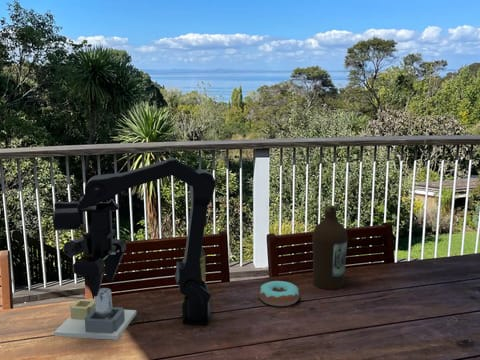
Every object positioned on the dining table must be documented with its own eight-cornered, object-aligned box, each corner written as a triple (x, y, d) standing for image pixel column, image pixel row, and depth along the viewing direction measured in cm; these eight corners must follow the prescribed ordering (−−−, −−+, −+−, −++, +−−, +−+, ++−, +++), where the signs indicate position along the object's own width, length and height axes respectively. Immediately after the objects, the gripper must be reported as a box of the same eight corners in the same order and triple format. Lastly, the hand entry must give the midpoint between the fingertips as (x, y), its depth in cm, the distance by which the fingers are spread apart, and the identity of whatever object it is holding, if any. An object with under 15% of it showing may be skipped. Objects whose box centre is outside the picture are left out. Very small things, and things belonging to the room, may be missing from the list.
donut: (253, 294, 140) (253, 281, 140) (290, 289, 144) (290, 277, 143) (266, 311, 129) (266, 297, 128) (306, 305, 132) (306, 292, 132)
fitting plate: (136, 313, 127) (135, 299, 126) (117, 339, 113) (116, 324, 112) (80, 310, 129) (79, 296, 128) (54, 336, 115) (53, 320, 114)
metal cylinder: (116, 321, 120) (113, 288, 119) (110, 328, 116) (107, 294, 115) (100, 320, 121) (98, 287, 119) (94, 328, 117) (91, 294, 115)
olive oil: (304, 283, 147) (306, 206, 143) (324, 275, 155) (326, 201, 150) (332, 293, 140) (335, 212, 136) (352, 284, 147) (355, 206, 143)
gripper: (85, 217, 124) (88, 273, 127) (48, 237, 106) (53, 302, 108) (125, 218, 123) (127, 275, 125) (96, 239, 105) (99, 305, 107)
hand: (102, 288), depth 117 cm, fingers open, 9 cm apart
